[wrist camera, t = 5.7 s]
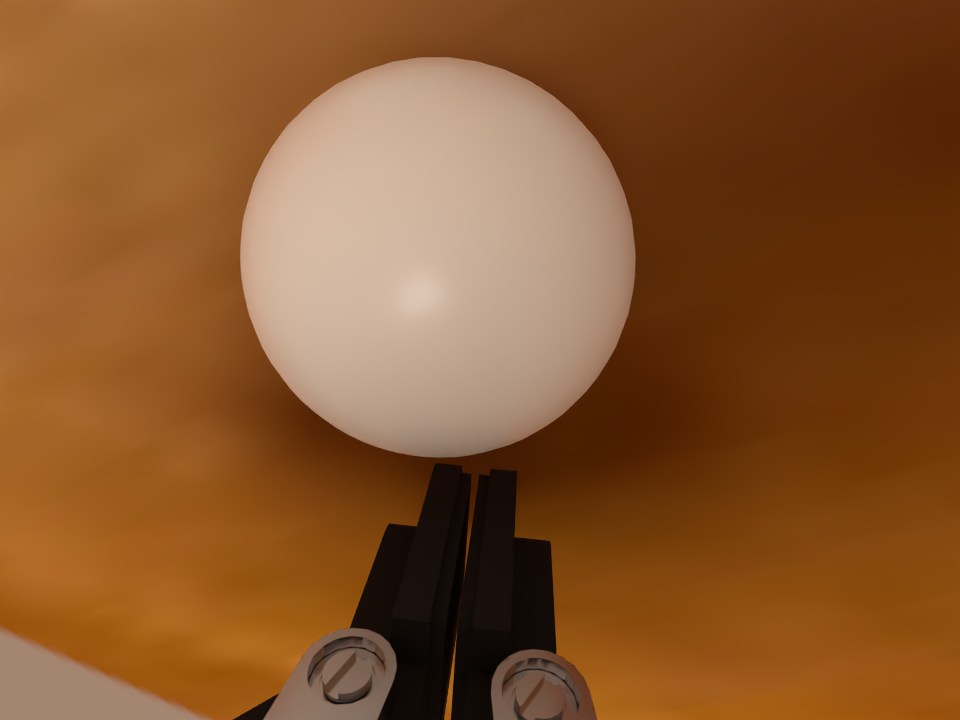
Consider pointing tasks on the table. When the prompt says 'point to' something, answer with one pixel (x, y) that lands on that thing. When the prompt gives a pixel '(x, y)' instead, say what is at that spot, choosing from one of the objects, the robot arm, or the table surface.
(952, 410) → the table surface
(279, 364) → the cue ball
